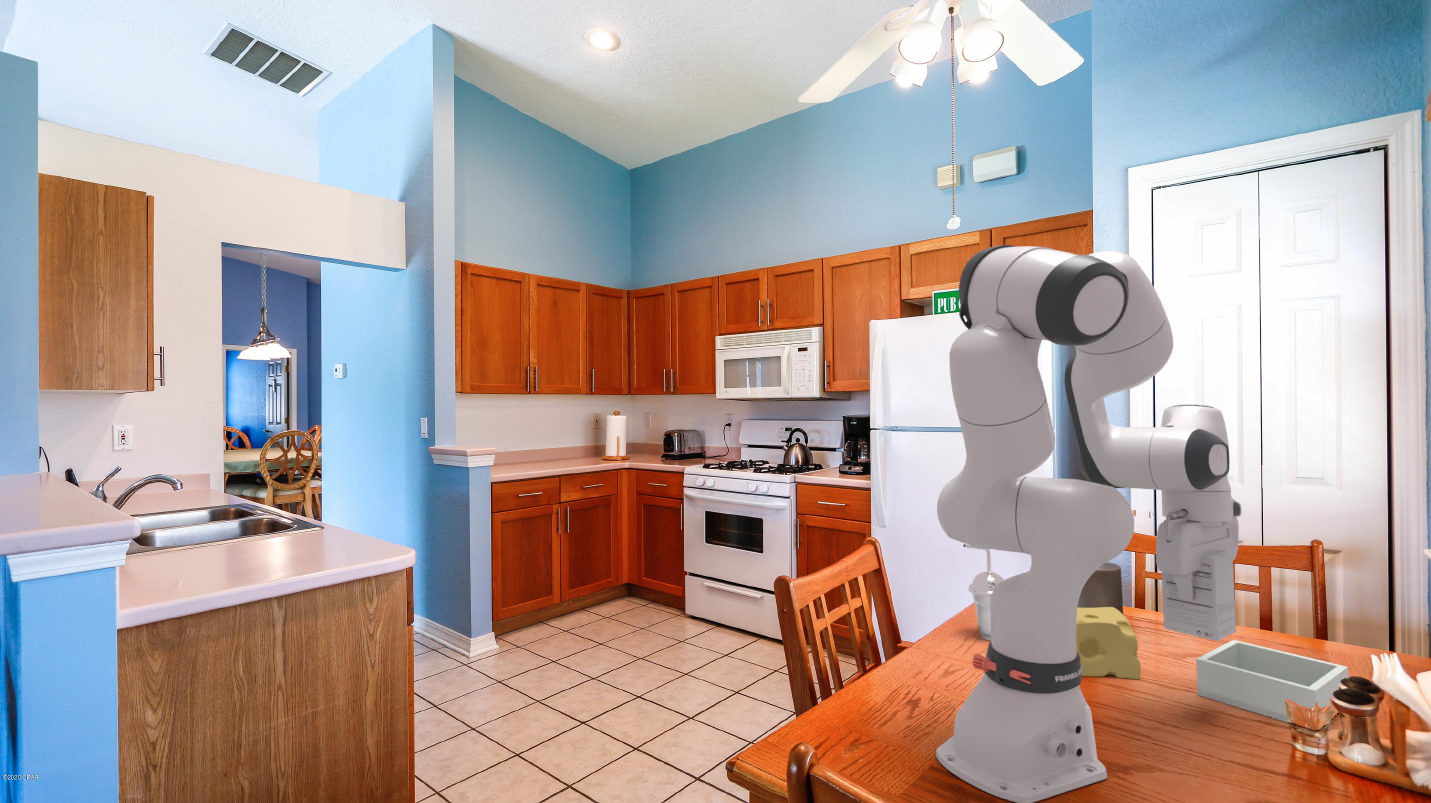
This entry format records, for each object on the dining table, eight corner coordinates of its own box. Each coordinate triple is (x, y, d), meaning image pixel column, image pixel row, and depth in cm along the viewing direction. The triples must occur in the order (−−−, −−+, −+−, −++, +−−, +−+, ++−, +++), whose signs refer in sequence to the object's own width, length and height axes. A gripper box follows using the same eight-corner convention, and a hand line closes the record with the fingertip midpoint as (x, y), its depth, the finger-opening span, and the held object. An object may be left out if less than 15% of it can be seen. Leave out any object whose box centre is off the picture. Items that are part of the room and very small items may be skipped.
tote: (1317, 731, 93) (1315, 690, 93) (1197, 694, 106) (1196, 658, 106) (1349, 704, 101) (1348, 666, 101) (1234, 673, 114) (1233, 639, 114)
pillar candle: (1135, 632, 135) (1132, 561, 136) (1097, 636, 133) (1093, 565, 134) (1099, 618, 145) (1095, 553, 145) (1062, 622, 143) (1059, 556, 143)
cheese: (1141, 680, 112) (1139, 623, 112) (1075, 677, 114) (1073, 621, 114) (1116, 657, 122) (1114, 606, 122) (1056, 655, 124) (1054, 604, 124)
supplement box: (1182, 620, 104) (1180, 544, 105) (1238, 633, 98) (1234, 551, 99) (1161, 628, 101) (1159, 549, 101) (1217, 642, 94) (1214, 557, 95)
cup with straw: (1013, 646, 129) (1009, 548, 129) (965, 640, 133) (962, 545, 133) (1013, 632, 137) (1009, 540, 137) (968, 627, 141) (965, 538, 141)
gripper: (1189, 515, 92) (1193, 611, 91) (1246, 504, 103) (1249, 589, 102) (1142, 510, 97) (1145, 600, 97) (1200, 500, 108) (1203, 581, 107)
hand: (1199, 595), depth 99 cm, fingers closed on supplement box, 7 cm apart
